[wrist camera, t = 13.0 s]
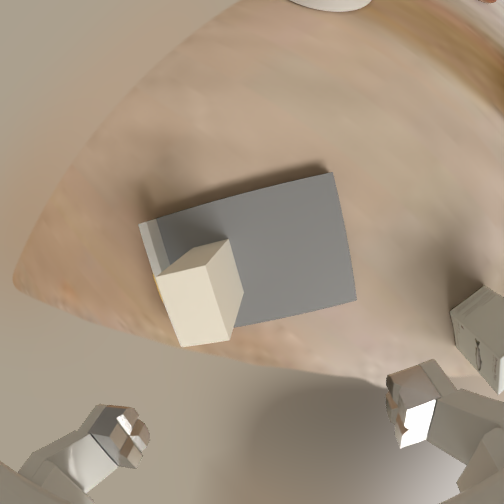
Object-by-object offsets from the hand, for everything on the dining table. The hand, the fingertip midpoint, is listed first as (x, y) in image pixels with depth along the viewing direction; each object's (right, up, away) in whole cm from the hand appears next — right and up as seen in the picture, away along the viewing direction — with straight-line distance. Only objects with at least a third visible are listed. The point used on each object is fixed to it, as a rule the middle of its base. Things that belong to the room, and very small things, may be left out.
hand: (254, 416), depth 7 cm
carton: (-4, +3, +22) cm, 23 cm away
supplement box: (+31, -4, +23) cm, 39 cm away
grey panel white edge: (0, +4, +23) cm, 24 cm away
